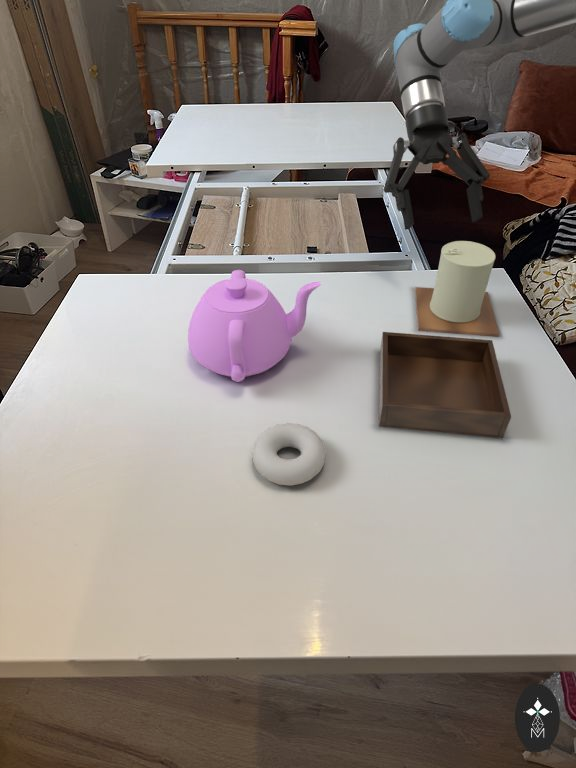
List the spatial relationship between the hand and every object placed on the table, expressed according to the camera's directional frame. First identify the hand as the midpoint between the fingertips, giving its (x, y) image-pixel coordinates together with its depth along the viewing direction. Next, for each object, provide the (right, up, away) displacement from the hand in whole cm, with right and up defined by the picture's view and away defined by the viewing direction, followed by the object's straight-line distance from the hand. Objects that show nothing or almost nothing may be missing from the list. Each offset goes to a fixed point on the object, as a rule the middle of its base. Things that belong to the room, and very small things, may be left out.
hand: (444, 223), depth 99 cm
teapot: (-35, -25, -8) cm, 43 cm away
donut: (-29, -41, -26) cm, 56 cm away
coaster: (+2, -16, +1) cm, 16 cm away
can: (+2, -16, +1) cm, 16 cm away
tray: (-6, -31, -16) cm, 35 cm away
